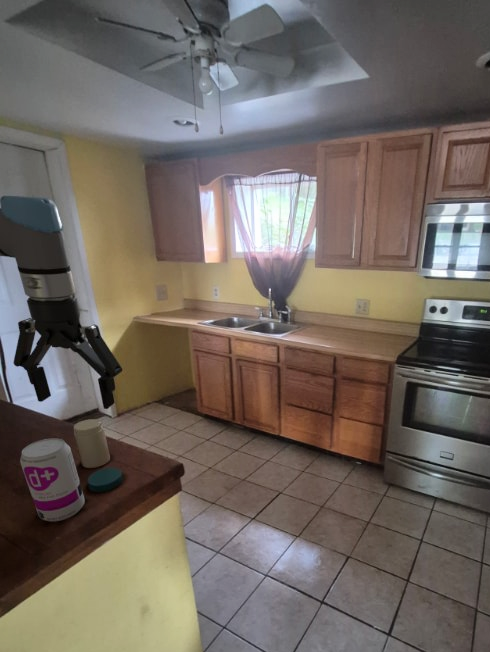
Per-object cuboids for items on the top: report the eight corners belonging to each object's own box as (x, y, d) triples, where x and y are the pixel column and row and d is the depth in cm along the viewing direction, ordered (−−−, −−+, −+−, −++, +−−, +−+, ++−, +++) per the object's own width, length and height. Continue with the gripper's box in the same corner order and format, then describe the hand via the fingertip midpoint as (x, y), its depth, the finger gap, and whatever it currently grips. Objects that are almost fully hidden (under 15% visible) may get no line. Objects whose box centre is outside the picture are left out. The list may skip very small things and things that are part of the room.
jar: (76, 466, 91) (65, 429, 87) (92, 453, 97) (84, 417, 93) (100, 469, 90) (90, 431, 86) (115, 455, 96) (107, 419, 92)
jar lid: (106, 494, 81) (105, 488, 81) (81, 488, 83) (79, 482, 83) (129, 476, 87) (128, 470, 87) (105, 471, 89) (103, 465, 89)
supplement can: (71, 523, 73) (52, 458, 67) (30, 523, 73) (6, 458, 67) (93, 497, 80) (77, 437, 74) (55, 497, 80) (36, 436, 74)
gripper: (-35, 294, 62) (3, 404, 72) (108, 308, 61) (127, 418, 71) (1, 285, 69) (31, 387, 79) (130, 298, 68) (145, 400, 78)
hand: (76, 402), depth 75 cm, fingers open, 13 cm apart
